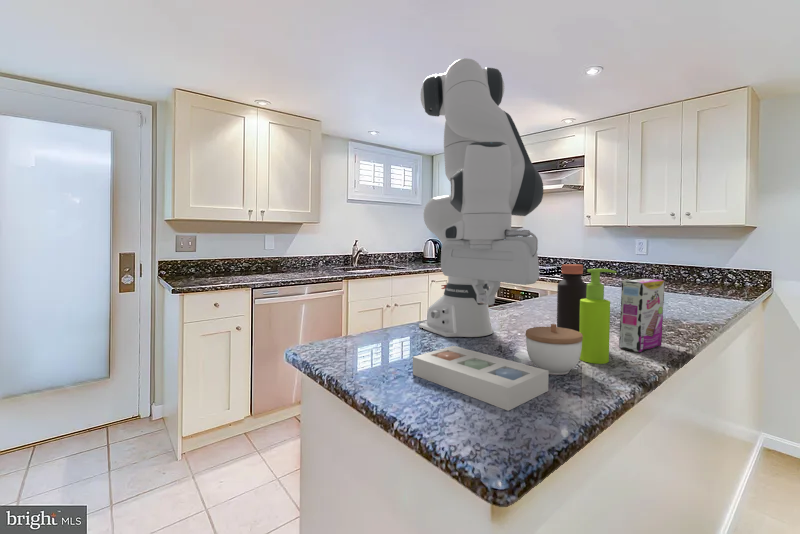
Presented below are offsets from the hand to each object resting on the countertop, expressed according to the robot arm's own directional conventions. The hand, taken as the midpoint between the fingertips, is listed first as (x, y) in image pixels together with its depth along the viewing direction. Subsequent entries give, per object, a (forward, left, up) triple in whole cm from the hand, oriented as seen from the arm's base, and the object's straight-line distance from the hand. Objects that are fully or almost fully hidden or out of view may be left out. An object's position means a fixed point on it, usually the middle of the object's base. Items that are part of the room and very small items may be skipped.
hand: (485, 303), depth 73 cm
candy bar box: (+12, +45, -15) cm, 49 cm away
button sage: (0, -3, -14) cm, 14 cm away
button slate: (+7, -3, -14) cm, 16 cm away
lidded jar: (+6, +14, -15) cm, 21 cm away
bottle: (-1, +36, -15) cm, 39 cm away
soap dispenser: (+9, +27, -15) cm, 32 cm away
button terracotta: (-7, -3, -14) cm, 16 cm away
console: (0, -3, -15) cm, 15 cm away
